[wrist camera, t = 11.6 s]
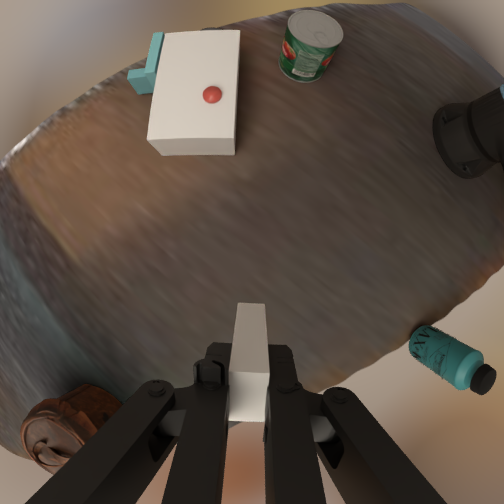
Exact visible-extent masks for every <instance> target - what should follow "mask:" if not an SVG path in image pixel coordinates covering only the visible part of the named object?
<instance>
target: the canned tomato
mask: <svg viewBox="0 0 504 504" xmlns="http://www.w3.org/2000/svg"><path fill="white" fill-rule="evenodd" d="M342 39H343V31H342V28H341V26H340V25H339V24H338V22H337V21H336V20H334V19H333V18H332V17H330V16H329V15H327V14H325V13H322V12H319V11H314V10H302V11H298V12H296V13H294V14H292V15H291V17H290V18H289V20H288V25H287V29H286V33H285V37H284V41H283V45H282V49H281V53H280V57H279V67H280V69H281V71H282V72H283V73H284V74H285V75H286V76H287V77H288V78H290V79H292V80H294V81H297V82H302V83H309V82H314V81H316V80H318V79H319V78H320V77H321V76H322V75H323V73H324V71H325V69H326V67H327V65H328V64H329V62H330V60H331V58H332V56H333V55H334V53H335V51H336V49H337V47H338V46H339V43H340V42H341V41H342Z"/></svg>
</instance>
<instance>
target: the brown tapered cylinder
mask: <svg viewBox="0 0 504 504" xmlns="http://www.w3.org/2000/svg"><path fill="white" fill-rule="evenodd" d="M121 406H122V404H121V403H120V402H119V401H118V400H117V399H116V398H115V397H114V396H112V395H111V394H109V393H108V392H106V391H105V390H103V389H101V388H98V387H95V386H92V385H89V384H84V385H82V386H80V387H78V388H76V389H75V390H73V391H71V392H69V393H67V394H65V395H63V396H61V397H59V398H57V399H45V400H43V401H42V402H40V403H39V404H37V405H36V406H35V407H34V408H33V409H32V410H31V411H30V412H29V414H28V416H27V417H26V418H25V420H24V421H23V423H22V426H21V431H20V435H21V440H22V444H23V447H24V449H25V450H26V452H27V453H28V455H29V456H30V458H31V459H32V460H34V461H35V462H36V463H37V464H38V465H40V466H41V467H42V468H43V469H45V470H46V471H48V472H50V473H51V474H53V475H54V474H55V473H56V472H57V471H58V470H59V469H60V468H61V467H62V466H63V465H64V464H65V463H66V462H67V461H68V460H69V459H70V458H71V457H72V456H73V455H74V454H75V453H76V452H77V451H78V450H79V449H80V448H81V447H82V446H83V445H84V444H85V443H86V442H87V441H88V440H89V439H90V438H91V437H92V436H93V435H94V434H95V433H96V432H97V431H98V430H99V429H100V428H101V427H102V426H103V425H104V424H105V423H106V422H107V421H108V420H109V419H110V418H111V417H112V416H113V415H114V414H115V413H116V412H117V411H118V410H119V409H120V407H121Z"/></svg>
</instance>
